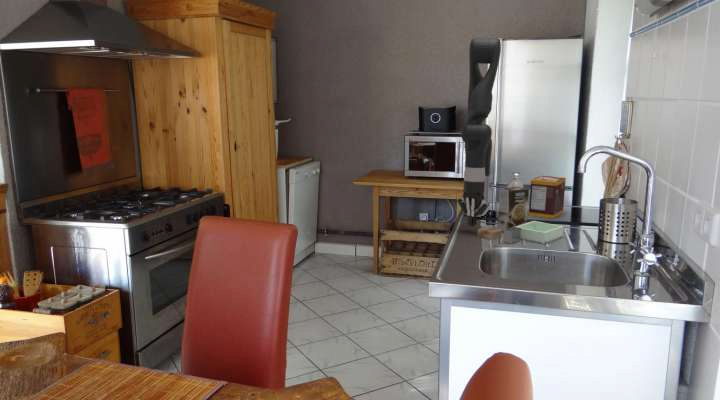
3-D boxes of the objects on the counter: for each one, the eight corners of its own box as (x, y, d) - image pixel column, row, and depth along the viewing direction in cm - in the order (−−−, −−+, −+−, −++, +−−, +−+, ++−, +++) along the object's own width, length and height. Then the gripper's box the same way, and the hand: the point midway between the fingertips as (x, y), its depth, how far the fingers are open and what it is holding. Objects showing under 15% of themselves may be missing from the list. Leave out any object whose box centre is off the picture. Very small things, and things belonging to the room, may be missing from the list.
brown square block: (477, 237, 192) (477, 229, 191) (487, 234, 196) (487, 226, 195) (491, 240, 188) (491, 232, 187) (501, 237, 191) (501, 229, 191)
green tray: (513, 237, 191) (514, 226, 190) (533, 231, 200) (533, 220, 199) (544, 244, 182) (544, 232, 182) (562, 237, 192) (563, 226, 191)
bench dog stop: (503, 242, 185) (504, 229, 184) (512, 239, 189) (513, 226, 188) (511, 244, 182) (511, 231, 182) (520, 240, 186) (521, 228, 186)
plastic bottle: (503, 223, 211) (506, 173, 207) (505, 220, 217) (508, 171, 213) (520, 225, 208) (523, 174, 205) (522, 221, 215) (525, 172, 211)
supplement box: (563, 212, 232) (566, 177, 229) (552, 219, 220) (555, 181, 217) (539, 209, 238) (542, 175, 235) (528, 215, 226) (530, 179, 223)
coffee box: (508, 233, 196) (511, 190, 193) (496, 229, 202) (498, 187, 199) (526, 230, 200) (529, 188, 197) (514, 227, 206) (517, 186, 203)
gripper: (453, 178, 196) (451, 224, 199) (484, 182, 186) (481, 230, 189) (465, 176, 201) (463, 221, 204) (495, 180, 191) (493, 227, 195)
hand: (472, 225), depth 197 cm, fingers closed
